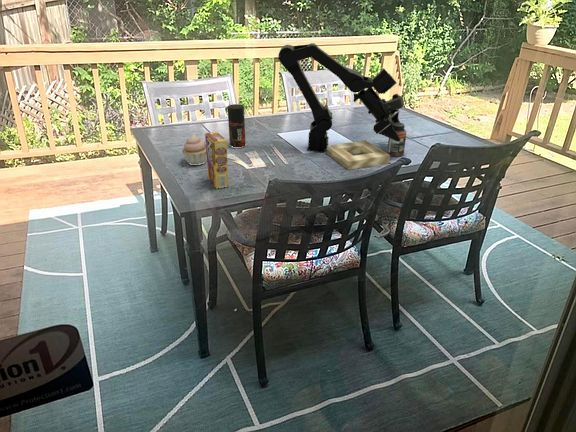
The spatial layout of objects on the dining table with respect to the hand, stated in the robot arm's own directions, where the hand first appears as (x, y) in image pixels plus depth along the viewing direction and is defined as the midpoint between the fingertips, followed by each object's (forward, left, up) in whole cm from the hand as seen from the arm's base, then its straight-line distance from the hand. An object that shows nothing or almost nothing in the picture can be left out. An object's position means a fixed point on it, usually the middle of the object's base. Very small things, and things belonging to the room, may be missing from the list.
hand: (401, 137), depth 165 cm
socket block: (-13, -9, -7) cm, 17 cm away
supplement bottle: (-1, 0, -7) cm, 7 cm away
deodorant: (-58, -13, -7) cm, 60 cm away
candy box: (-49, -45, -7) cm, 67 cm away
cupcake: (-64, -33, -7) cm, 73 cm away
